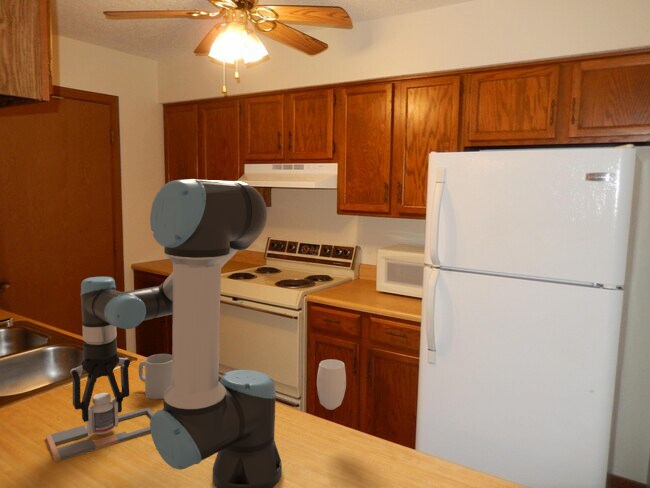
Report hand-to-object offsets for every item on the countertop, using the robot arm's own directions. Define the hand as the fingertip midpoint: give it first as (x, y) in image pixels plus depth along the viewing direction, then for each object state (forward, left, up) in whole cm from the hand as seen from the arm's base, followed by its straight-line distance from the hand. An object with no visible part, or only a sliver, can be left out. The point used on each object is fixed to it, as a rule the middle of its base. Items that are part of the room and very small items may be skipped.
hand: (102, 428), depth 117 cm
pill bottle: (0, 0, -1) cm, 1 cm away
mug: (+16, -19, -2) cm, 25 cm away
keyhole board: (0, -1, -2) cm, 2 cm away
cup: (-37, -44, -2) cm, 57 cm away
